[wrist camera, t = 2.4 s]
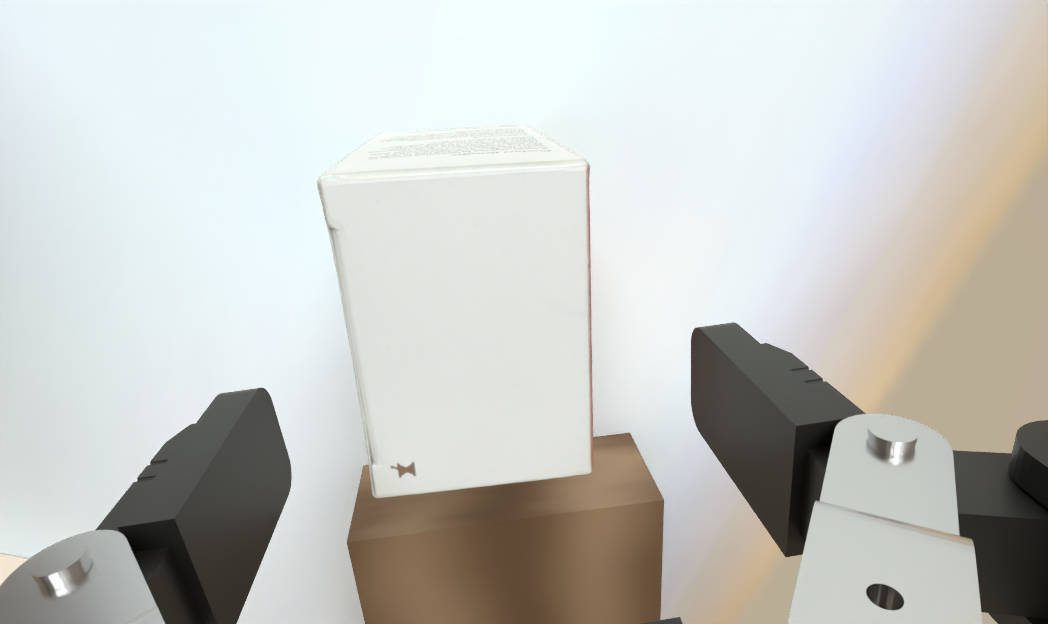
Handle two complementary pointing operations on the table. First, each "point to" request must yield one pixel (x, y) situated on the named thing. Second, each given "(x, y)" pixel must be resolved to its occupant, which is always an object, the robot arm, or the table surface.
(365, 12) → the table surface
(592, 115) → the table surface
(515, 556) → the walnut block
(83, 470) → the table surface
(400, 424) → the small box
